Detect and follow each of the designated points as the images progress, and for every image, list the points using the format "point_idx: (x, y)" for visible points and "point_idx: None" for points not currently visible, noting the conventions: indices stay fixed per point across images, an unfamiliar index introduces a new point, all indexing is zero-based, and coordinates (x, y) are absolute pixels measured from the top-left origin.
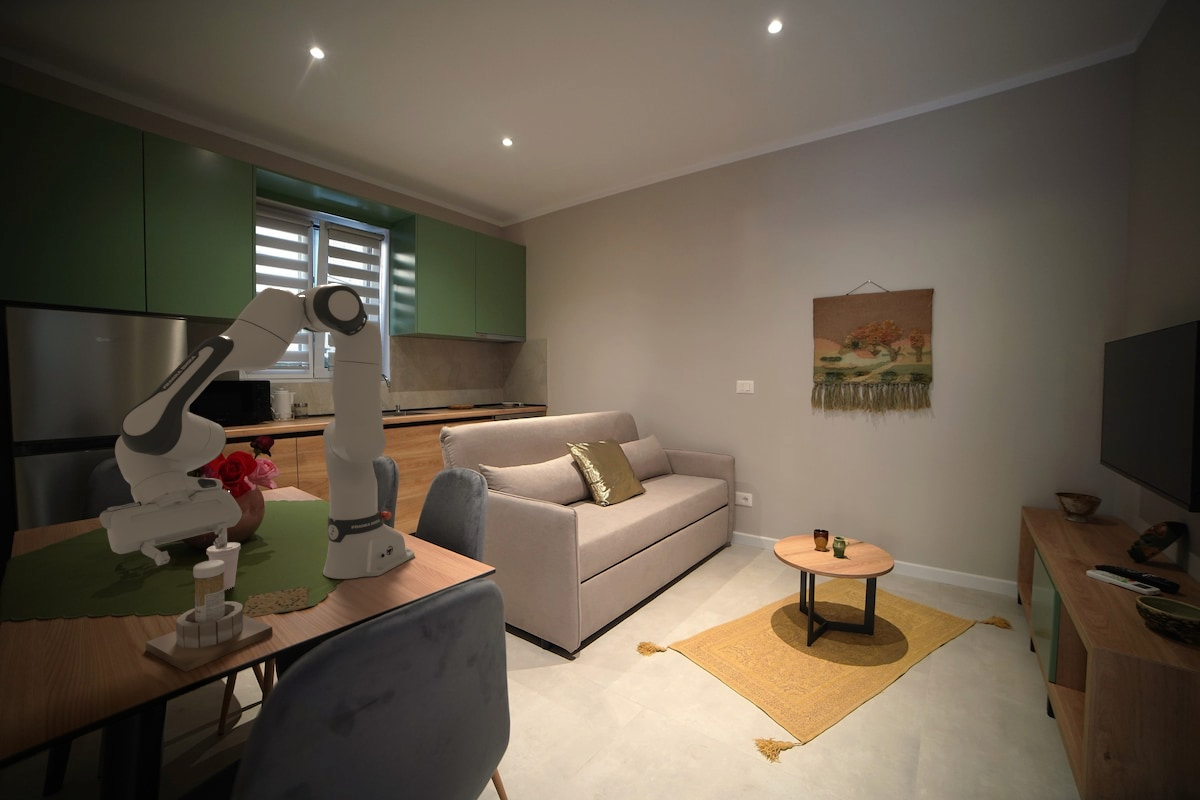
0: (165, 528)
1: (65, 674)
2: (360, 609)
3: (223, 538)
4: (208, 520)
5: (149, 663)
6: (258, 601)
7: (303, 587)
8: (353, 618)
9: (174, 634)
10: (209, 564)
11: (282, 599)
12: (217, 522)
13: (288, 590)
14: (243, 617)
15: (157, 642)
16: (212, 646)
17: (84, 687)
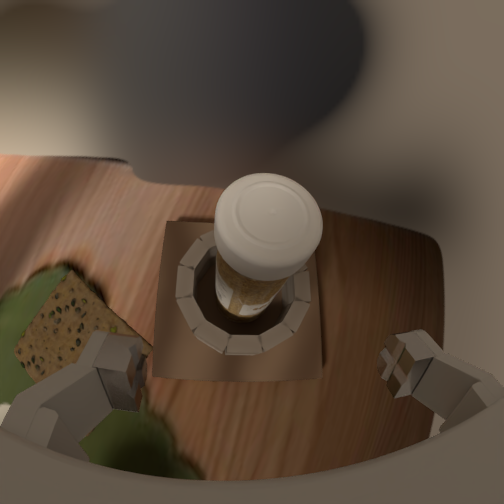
0: (488, 455)
1: None
2: (62, 184)
3: (93, 354)
4: (86, 501)
5: (330, 318)
6: None
7: (19, 351)
8: (89, 169)
9: (279, 365)
10: (274, 204)
11: (63, 346)
12: (33, 445)
13: (36, 373)
14: (162, 313)
15: (311, 356)
16: None
17: (397, 321)
